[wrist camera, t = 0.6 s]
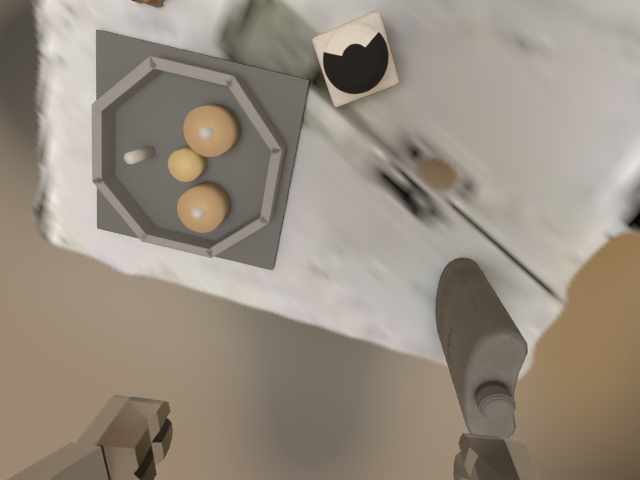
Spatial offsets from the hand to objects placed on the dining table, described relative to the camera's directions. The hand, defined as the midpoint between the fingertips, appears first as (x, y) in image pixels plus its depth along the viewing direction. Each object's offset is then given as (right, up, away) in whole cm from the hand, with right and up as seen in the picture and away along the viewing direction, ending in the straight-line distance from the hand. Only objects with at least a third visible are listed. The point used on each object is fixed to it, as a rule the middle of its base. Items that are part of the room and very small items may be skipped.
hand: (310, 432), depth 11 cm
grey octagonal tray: (-16, +16, +42) cm, 48 cm away
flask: (+20, -4, +47) cm, 51 cm away
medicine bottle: (+5, +26, +36) cm, 45 cm away
